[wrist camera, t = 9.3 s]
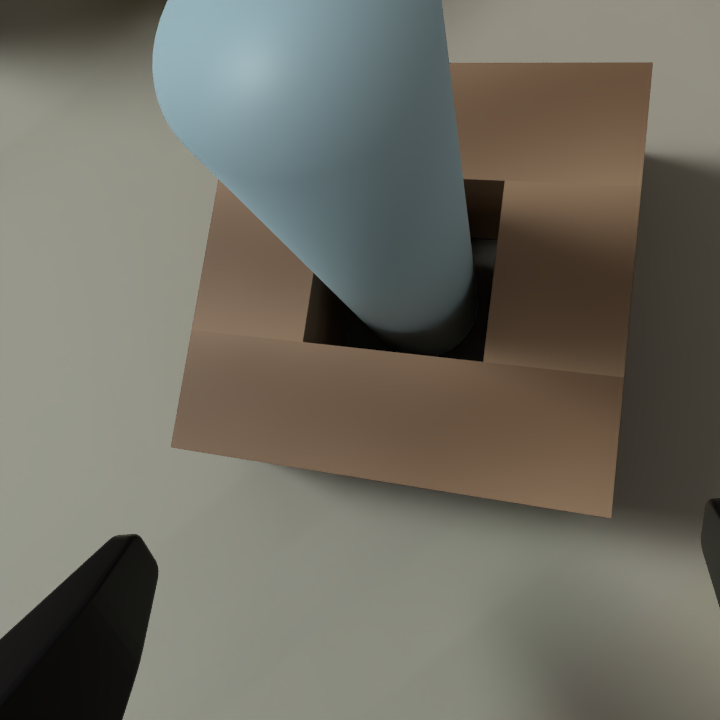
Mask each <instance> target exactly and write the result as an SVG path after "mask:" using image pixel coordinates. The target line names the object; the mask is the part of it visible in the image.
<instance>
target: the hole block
mask: <svg viewBox="0 0 720 720" xmlns="http://www.w3.org/2000/svg"><path fill="white" fill-rule="evenodd" d="M449 66H450V74H451V83H452V91H453V99H454V107H455V115H456V124H457V132H458V140H459V148H460V157H461V165H462V173H463V181H464V189H465V198H466V206H467V214H468V222H469V231H470V238H481V239H496V240H498V242H497V250H496V259H495V267H494V275H493V284H492V292H491V301H490V309H489V317H488V326H487V334H486V342H485V351H484V359H483V362H479V361H470V360H461V359H452V358H443V357H434V356H425V355H416V354H407V353H398V352H389V351H379V350H370V349H361V348H352V347H346V346H347V339H348V333H349V326H350V319H351V312H352V310H351V309H350V308H349V307H348V306H347V305H346V304H345V303H344V302H343V301H342V300H341V299H340V298H339V297H338V296H337V295H336V294H335V293H334V292H333V291H332V290H331V289H330V288H328V287H327V286H326V285H325V284H324V283H323V282H322V281H321V280H320V279H319V278H318V277H317V276H316V275H315V274H314V273H313V272H312V271H311V270H310V269H309V268H308V267H307V266H306V265H305V264H304V263H303V262H302V261H301V260H300V259H299V258H298V257H297V256H296V255H295V254H294V253H293V252H292V251H291V250H290V249H289V248H288V247H287V246H286V245H285V244H284V243H283V242H282V241H281V240H280V239H279V238H278V237H277V236H276V235H275V234H274V233H273V232H272V231H271V230H270V229H269V228H268V227H267V226H266V225H265V224H264V223H263V222H262V221H261V220H259V219H258V218H257V217H256V216H255V215H254V214H253V213H252V212H251V211H250V210H249V209H248V208H247V207H246V206H245V205H244V204H243V203H242V202H241V201H240V200H239V199H238V198H237V197H236V196H235V195H234V194H233V193H232V192H231V191H230V190H229V189H228V188H227V187H226V186H225V185H224V184H223V183H222V182H221V181H220V180H219V179H218V185H217V191H216V196H215V202H214V207H213V213H212V219H211V224H210V230H209V235H208V241H207V247H206V252H205V258H204V263H203V269H202V275H201V280H200V286H199V292H198V297H197V303H196V308H195V314H194V320H193V325H192V331H191V336H190V342H189V348H188V353H187V359H186V364H185V370H184V376H183V381H182V387H181V393H180V398H179V404H178V409H177V415H176V421H175V426H174V432H173V437H172V443H171V447H172V448H178V449H184V450H190V451H197V452H203V453H209V454H215V455H221V456H228V457H234V458H240V459H246V460H252V461H259V462H265V463H271V464H277V465H283V466H290V467H296V468H302V469H308V470H314V471H321V472H327V473H333V474H339V475H345V476H352V477H358V478H364V479H370V480H376V481H383V482H389V483H395V484H401V485H407V486H414V487H420V488H426V489H432V490H438V491H445V492H451V493H457V494H463V495H469V496H476V497H482V498H488V499H494V500H500V501H507V502H513V503H519V504H525V505H531V506H538V507H544V508H550V509H556V510H562V511H569V512H575V513H581V514H587V515H593V516H600V517H606V518H611V515H612V504H613V493H614V482H615V471H616V460H617V449H618V438H619V427H620V416H621V405H622V394H623V383H624V372H625V361H626V350H627V340H628V329H629V318H630V307H631V296H632V285H633V274H634V263H635V252H636V241H637V230H638V219H639V208H640V197H641V186H642V175H643V164H644V153H645V142H646V131H647V120H648V109H649V99H650V88H651V77H652V66H653V63H449Z"/></svg>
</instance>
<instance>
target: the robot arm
mask: <svg viewBox="0 0 720 720" xmlns="http://www.w3.org/2000/svg"><path fill="white" fill-rule="evenodd" d="M701 545H702V550H703V554H704V557H705V561H706V564H707V567H708V571H709V574H710V577H711V580H712V584H713V587H714V590H715V594H716V597H717V600H718V604H719V607H720V498H714V499H710V500H708V502H707V503H706V506H705V513H704V519H703V526H702V532H701ZM157 580H158V565H157V562H156V560H155V559H154V557H153V556H152V554H151V552H150V551H149V549H148V548H147V546H146V544H145V543H144V541H143V540H142V538H141V537H140V536H138V535H137V534H127V535H117V536H114V537H112V538H111V539H110V540H108V541H107V542H106V543H105V544H104V545H103V546H102V547H101V548H100V549H99V550H98V551H96V552H95V553H94V554H93V555H92V556H91V557H90V558H89V559H88V560H87V561H85V562H84V563H83V564H82V565H81V566H80V567H79V568H78V569H77V570H76V571H75V572H73V573H72V574H71V575H70V576H69V577H68V578H67V579H66V580H65V581H64V582H62V583H61V584H60V585H59V586H58V587H57V588H56V589H55V590H54V591H53V592H52V593H50V594H49V595H48V596H47V597H46V598H45V599H44V600H43V601H42V602H41V603H39V604H38V605H37V606H36V607H35V608H34V609H33V610H32V611H31V612H30V613H29V614H27V615H26V616H25V617H24V618H23V619H22V620H21V621H20V622H19V623H18V624H16V625H15V626H14V627H13V628H12V629H11V630H10V631H9V632H8V633H7V634H6V635H4V636H3V637H2V638H1V639H0V720H122V719H123V716H124V713H125V709H126V706H127V703H128V700H129V697H130V693H131V690H132V687H133V684H134V681H135V677H136V674H137V671H138V667H139V664H140V659H141V655H142V651H143V647H144V642H145V637H146V632H147V628H148V623H149V618H150V613H151V609H152V604H153V599H154V594H155V590H156V585H157Z"/></svg>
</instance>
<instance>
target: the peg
mask: <svg viewBox="0 0 720 720" xmlns="http://www.w3.org/2000/svg"><path fill="white" fill-rule="evenodd" d="M152 71H153V80H154V88H155V92H156V95H157V99H158V103H159V106H160V108H161V110H162V113H163V115H164V118H165V119H166V121H167V123H168V124H169V126H170V128H171V129H172V131H173V133H174V134H175V135H176V136H177V137H178V139H179V140H180V141H181V142H182V143H183V145H184V146H185V147H186V148H187V149H188V150H189V151H190V152H192V153H193V154H194V155H195V156H196V157H197V158H198V159H199V160H200V161H201V162H202V163H203V164H204V165H205V166H206V167H207V168H208V169H209V170H210V171H211V172H212V173H213V174H214V175H215V176H216V177H217V178H218V179H219V180H220V181H221V182H222V183H223V184H224V185H225V186H226V187H227V188H228V189H229V190H230V191H231V192H232V193H233V194H234V195H235V196H236V197H237V198H238V199H239V200H240V201H241V202H242V203H243V204H244V205H245V206H246V207H247V208H248V209H249V210H250V211H251V212H252V213H253V214H254V215H255V216H256V217H257V218H258V219H259V220H261V221H262V222H263V223H264V224H265V225H266V226H267V227H268V228H269V229H270V230H271V231H272V232H273V233H274V234H275V235H276V236H277V237H278V238H279V239H280V240H281V241H282V242H283V243H284V244H285V245H286V246H287V247H288V248H289V249H290V250H291V251H292V252H293V253H294V254H295V255H296V256H297V257H298V258H299V259H300V260H301V261H302V262H303V263H304V264H305V265H306V266H307V267H308V268H309V269H310V270H311V271H312V272H313V273H314V274H315V275H316V276H317V277H318V278H319V279H320V280H321V281H322V282H323V283H324V284H325V285H326V286H327V287H328V288H330V289H331V290H332V291H333V292H334V293H335V294H336V295H337V296H338V297H339V298H340V299H341V300H342V301H343V302H344V303H345V304H346V305H347V306H348V307H349V308H350V309H351V310H352V311H353V312H354V313H355V314H356V315H357V316H358V317H359V318H360V319H361V320H362V321H363V322H364V323H365V324H366V325H367V326H368V327H369V328H370V329H371V330H372V331H373V332H374V333H375V334H376V335H377V336H378V337H379V338H380V339H381V340H382V341H383V342H384V343H385V344H387V345H388V346H389V347H390V348H392V349H393V350H395V351H397V352H399V353H407V354H416V355H425V356H437V355H440V354H443V353H445V352H447V351H449V350H451V349H453V348H454V347H456V346H457V345H458V344H459V343H460V342H461V341H462V340H463V339H464V338H465V337H466V336H467V334H468V333H469V331H470V330H471V328H472V326H473V324H474V321H475V318H476V315H477V309H478V296H477V288H476V280H475V272H474V263H473V255H472V247H471V239H470V231H469V222H468V214H467V206H466V198H465V189H464V181H463V173H462V165H461V157H460V148H459V140H458V132H457V124H456V115H455V107H454V99H453V91H452V83H451V74H450V66H449V58H448V50H447V41H446V33H445V25H444V17H443V9H442V0H168V1H167V3H166V5H165V8H164V10H163V13H162V15H161V18H160V21H159V24H158V28H157V32H156V35H155V42H154V48H153V67H152Z"/></svg>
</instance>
